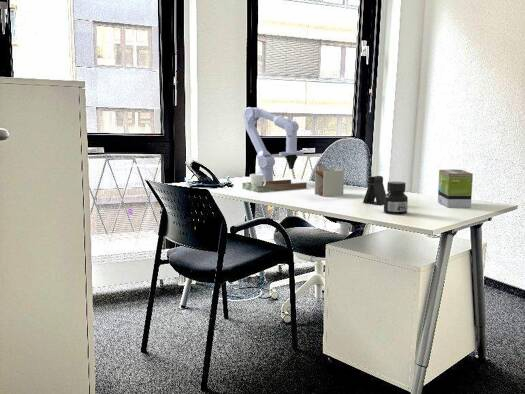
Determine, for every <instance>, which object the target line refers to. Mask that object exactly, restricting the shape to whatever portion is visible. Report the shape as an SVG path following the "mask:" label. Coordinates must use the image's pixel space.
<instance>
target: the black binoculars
mask: <svg viewBox="0 0 525 394" xmlns="http://www.w3.org/2000/svg"><path fill="white" fill-rule="evenodd" d="M368 181H369V184H368V187H367V189H366V193H365V195H364V198H363V201H362V203H363V204H364V203H365V204H366V205H372V206H378V205H379V207H381V206H384V196H385V195H386V194H387V193H386V190H385V186H384V177H383V176H382V175H376V176H370V178H369V180H368ZM365 204H364V205H365Z"/></svg>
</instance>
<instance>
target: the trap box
mask: <svg viewBox="0 0 525 394" xmlns="http://www.w3.org/2000/svg"><path fill="white" fill-rule="evenodd" d="M307 183H308V182H296V183H292V179H281V180H280V179H279V180H273V181H266V184H265V186H263V185H264V181H263V182H262V186H256V185H251V181H250V182H242V189H243V190H247V191H250V192H255V193H265V192H278V191H279V192H280V191H290V190H301V189H302V190H304V189H307V188H308V187H307Z"/></svg>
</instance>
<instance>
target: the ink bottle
mask: <svg viewBox="0 0 525 394" xmlns="http://www.w3.org/2000/svg"><path fill="white" fill-rule="evenodd" d="M406 183H407V182H405V181H388V182H387V185H386V186H387V187H386V188H387V190H386V191H387V193H386V195H385V196H384V205H383V212H384V213H385V214H390V215H406V214H407V213H408V204H409V203H408V202H409V201H408V200H409V199H408V196H407V194H406V193H405V192H406V187H407V186H406Z"/></svg>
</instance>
